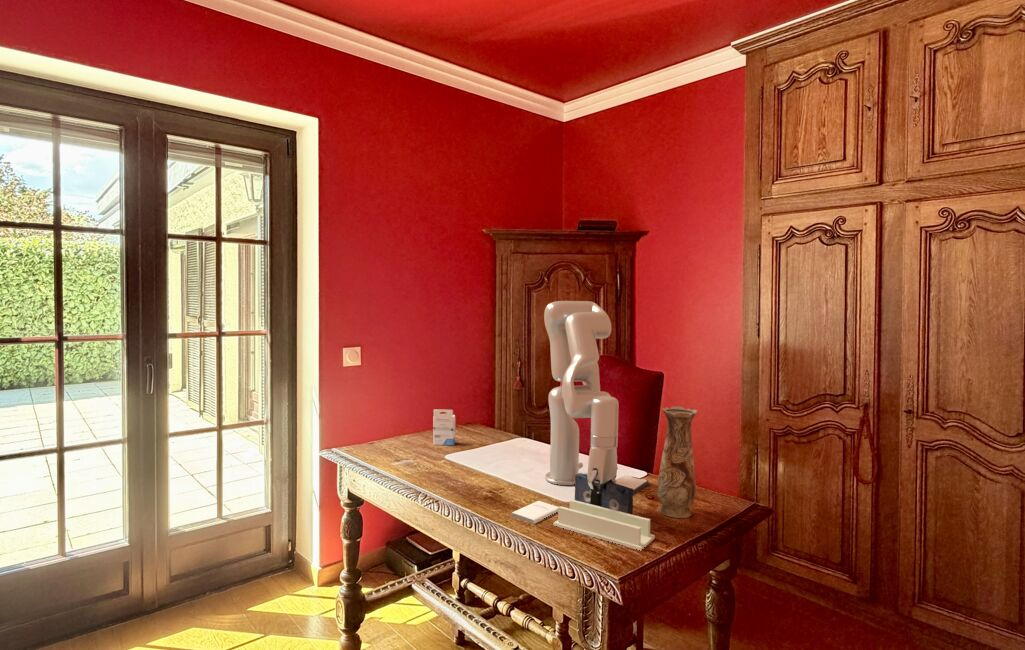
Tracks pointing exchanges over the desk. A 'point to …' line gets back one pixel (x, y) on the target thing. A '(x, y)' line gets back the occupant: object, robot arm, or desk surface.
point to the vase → (677, 464)
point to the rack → (605, 524)
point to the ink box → (443, 427)
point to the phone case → (632, 483)
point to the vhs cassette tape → (605, 494)
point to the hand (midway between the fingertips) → (602, 501)
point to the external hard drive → (535, 512)
